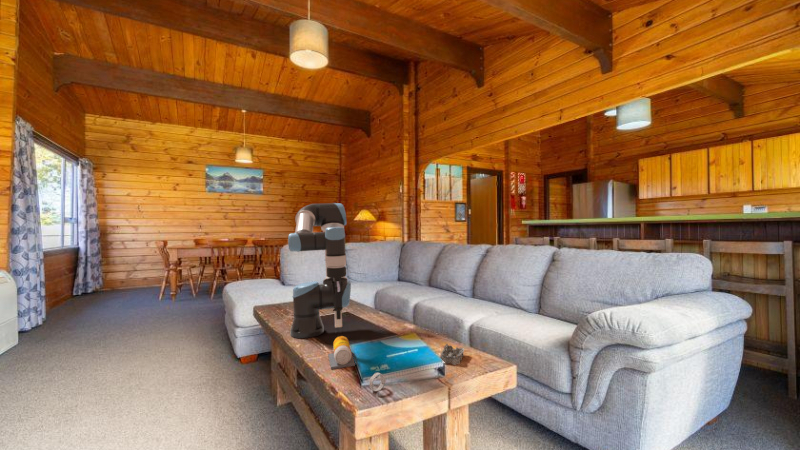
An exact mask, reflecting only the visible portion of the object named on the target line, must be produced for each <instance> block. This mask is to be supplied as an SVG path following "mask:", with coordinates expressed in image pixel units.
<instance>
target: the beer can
mask: <svg viewBox="0 0 800 450" xmlns="http://www.w3.org/2000/svg"><path fill="white" fill-rule="evenodd" d="M332 345H333V353H334V358H335V361H336V362H337V363H338V364H341V365H344V364H346V363H348V362H349V361H350V359H351V351H352V350H351V345H350V341H349V339H348V337H346V336H343V335H340V336H337V337H336V338H335V339H334V341H333V343H332Z"/></svg>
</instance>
